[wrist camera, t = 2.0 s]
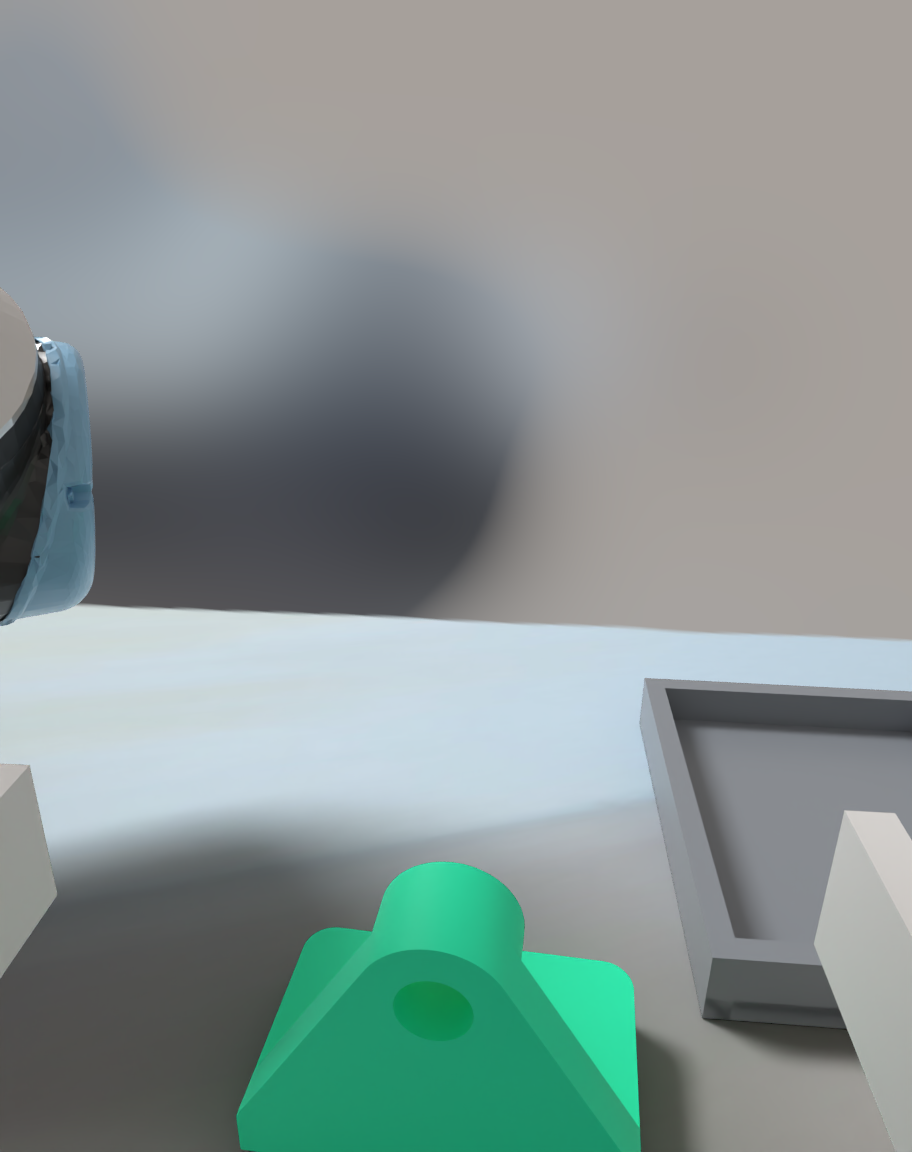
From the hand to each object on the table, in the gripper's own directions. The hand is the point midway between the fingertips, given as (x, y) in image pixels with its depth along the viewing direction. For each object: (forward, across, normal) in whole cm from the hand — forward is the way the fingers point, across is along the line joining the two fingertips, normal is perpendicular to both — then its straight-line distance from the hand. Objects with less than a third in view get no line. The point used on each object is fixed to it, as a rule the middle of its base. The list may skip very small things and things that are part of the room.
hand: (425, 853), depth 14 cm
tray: (+23, +17, -18) cm, 33 cm away
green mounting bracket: (+9, 0, -18) cm, 20 cm away
